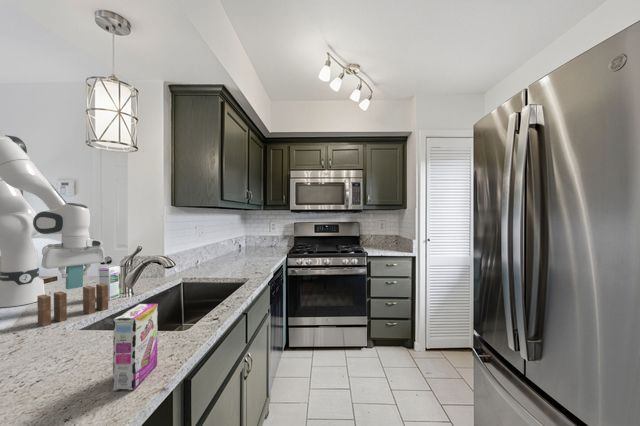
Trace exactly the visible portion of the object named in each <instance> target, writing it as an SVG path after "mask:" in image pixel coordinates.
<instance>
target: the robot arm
mask: <svg viewBox="0 0 640 426" xmlns="http://www.w3.org/2000/svg"><path fill="white" fill-rule="evenodd" d="M27 153H28V149H27V146H26V144H25V142H24V141H23V140H22V139H21V138H20V137H17V136H16V135H15V136H14V135H8V134H7V135H0V261H1V263H0V265H1V270H0V308H11V307H18V306H23V305H24V306H25V305H28V304H33V303H36V302H37V303H38V301H37V296H39V295H44V294H45V295H48V296H50V295H49V293H45V282H44V279H42V278H41V277H40V268H39V267H38V266H39V265H38V262H39V261H38V259H39V258H38V250H37V248H36V247H35V245H34V242H33V237H34V236H36V235H38V234H42V235H59V234H61V243H55V244H54V243H53V244H52V243H51V244H49V243H48V244H47V245H45V246H44V247H43V248H42V250H41V251H42V252H41V254H42V257H41V258H42V259H41V267H42V268H44V269H46V270H49V269H57V270H58V271H59V272H60V274H61V279H66V278H68V273H66V267H68V266H76V265H83V276H87V275H88V271H89V269H90V267H91V265H92V264H101V263H103V262H104V261H105V259H106V258H105V257H106V255H105V249H104V247H103V245H104V242H103V241H102V240H99V239H95V238H92V237H91V235H90V230H89V229H90V226H91V212H90V208H89V207H88V206H87V205H85V204H82V203H75V202H67V201H66V200H65V199H64V198H63V197H62V195H61V194H60V193H59V191H58V190H57V189H56V188H55V187H54V185H53V184H51V182H50V181H49V180H47V178H46V177H45V176H44V175H43V174H42V172H41V171H40V170H39V169H38V168H37V167H36V164H35V163H34V162H33V160H32V159H31V158H30V156H29V155H28V154H27ZM21 191H24V192H26V193H29V194H32V195H34V196H36V197H38V198H39V199H40V201H42V202H43V203H44V205H45V206H46V207H47V208H48V210H44V211H39V212H38V213H37V212H36V210H35V209H34V208H33V207H32V206H31V205H30V204H29V202H28V201H27V200H26V199H25V197H24V196H23V194H22V192H21ZM90 237H91V238H90Z"/></svg>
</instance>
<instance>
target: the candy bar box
mask: <svg viewBox="0 0 640 426" xmlns="http://www.w3.org/2000/svg"><path fill="white" fill-rule="evenodd" d="M158 308H159V306H158V303H139V304H137V305H136V306H134V307H132V308H130V309H129V310H126V311H125V312H124V313H121V314H119V315H118V316H117V317H115V318H113V346H112V347H113V350H112V351H113V352H112V353H113V360H112V362H113V363H112V364H113V365H112V391H113V392H123V391H122V390H133V391H135V390H136V389H137V388H138V387H137V386H139V385H141V383H142V382H143V381H144V380H145V379H146V378H147V377H148V376H149V374H150V373H151V372H152V371H153V370H154V369H155V368H156V367H157V365H158V319H159V317H158V313H159V311H158V310H159V309H158Z"/></svg>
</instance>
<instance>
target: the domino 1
mask: <svg viewBox="0 0 640 426" xmlns="http://www.w3.org/2000/svg"><path fill="white" fill-rule="evenodd" d="M45 294H46V293H45ZM45 294H44V295H39V296H37V325H39V326H41V327H46V326H51V325H52V300H51V296H50V295H49V296H48V295H45Z"/></svg>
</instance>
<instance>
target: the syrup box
mask: <svg viewBox="0 0 640 426" xmlns="http://www.w3.org/2000/svg"><path fill="white" fill-rule="evenodd" d="M101 283H102V284H107V285H108V301H112V300H114V299H117V298H118V299H119V298H121V297H120V296H122V294H121V290H122V289H121V288H122V287H121V266H120V265H109V266H104V267H99V268H98V284H101Z"/></svg>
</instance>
